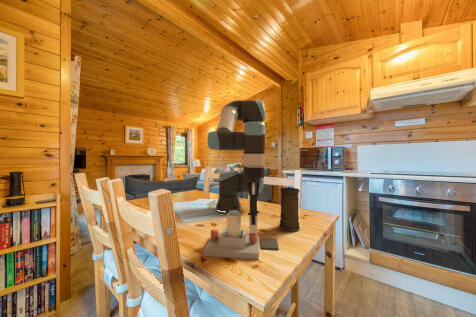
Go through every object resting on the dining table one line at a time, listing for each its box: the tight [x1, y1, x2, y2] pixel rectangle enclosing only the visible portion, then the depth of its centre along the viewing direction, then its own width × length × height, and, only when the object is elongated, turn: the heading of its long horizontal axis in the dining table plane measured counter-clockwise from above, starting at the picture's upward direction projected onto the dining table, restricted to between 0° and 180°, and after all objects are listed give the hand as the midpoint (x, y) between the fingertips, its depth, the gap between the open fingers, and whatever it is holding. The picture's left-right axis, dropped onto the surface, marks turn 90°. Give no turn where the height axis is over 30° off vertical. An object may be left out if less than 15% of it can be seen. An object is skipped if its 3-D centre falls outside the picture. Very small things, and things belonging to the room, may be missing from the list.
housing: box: [203, 227, 260, 260], centre depth 68 cm, size 14×18×5 cm
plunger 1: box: [210, 229, 220, 240], centre depth 69 cm, size 3×3×3 cm
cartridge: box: [226, 210, 242, 238], centre depth 68 cm, size 5×5×11 cm
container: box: [279, 187, 301, 233], centre depth 86 cm, size 9×9×18 cm
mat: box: [260, 237, 280, 251], centre depth 71 cm, size 8×6×1 cm
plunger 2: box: [248, 232, 258, 243], centre depth 67 cm, size 3×3×3 cm
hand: (253, 232), depth 67 cm, fingers closed
